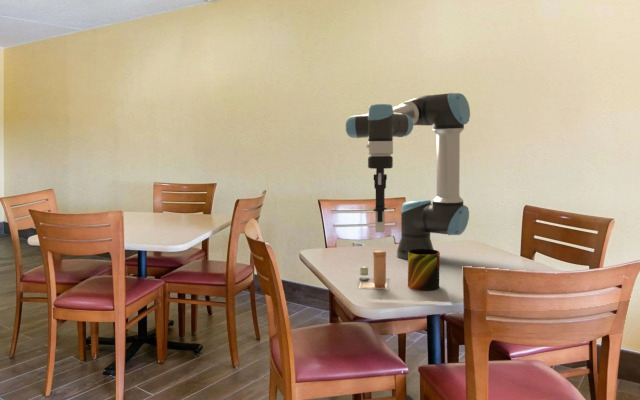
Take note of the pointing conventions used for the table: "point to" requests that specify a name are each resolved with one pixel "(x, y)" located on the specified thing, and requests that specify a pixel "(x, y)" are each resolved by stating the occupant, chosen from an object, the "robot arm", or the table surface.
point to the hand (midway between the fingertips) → (380, 231)
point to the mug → (423, 269)
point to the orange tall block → (379, 268)
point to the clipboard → (371, 284)
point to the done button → (363, 270)
